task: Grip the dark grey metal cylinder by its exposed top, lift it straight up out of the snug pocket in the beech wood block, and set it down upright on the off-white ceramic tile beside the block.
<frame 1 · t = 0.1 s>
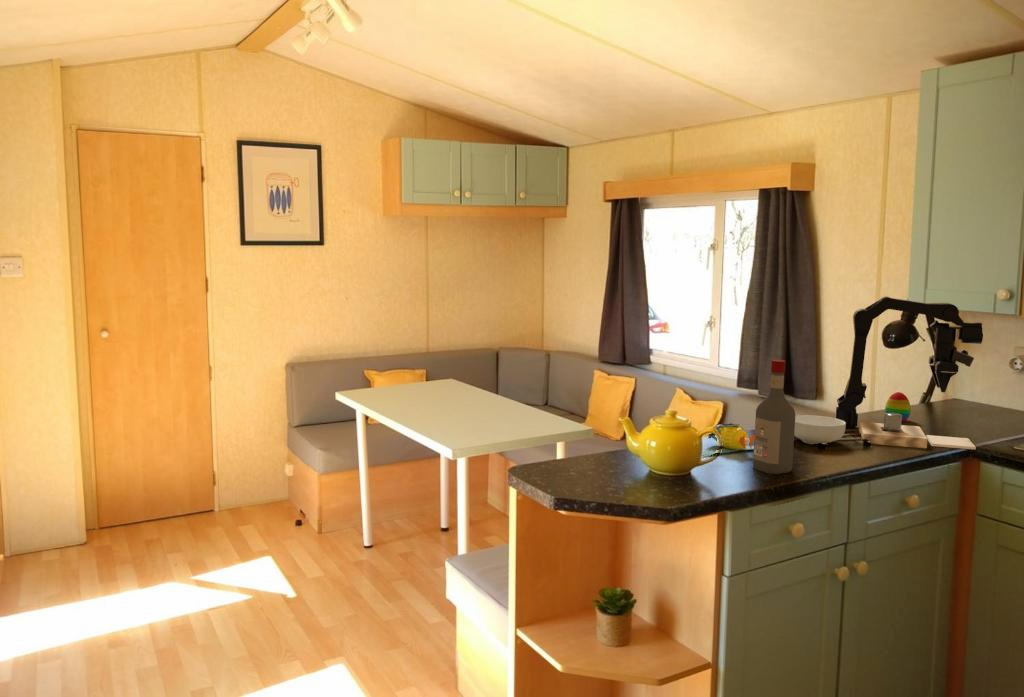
hand: (940, 389, 277), 15 cm above the worktop, fingers open, 9 cm apart
owl figurine: (731, 452, 254), on the worktop
metal part: (892, 426, 270), in the pocket block
cereal bowl: (815, 442, 265), on the worktop
ceramic tile: (950, 443, 266), on the worktop
liquor: (772, 469, 233), on the worktop
decorative egg: (896, 420, 299), on the worktop
pocket block: (891, 439, 270), on the worktop
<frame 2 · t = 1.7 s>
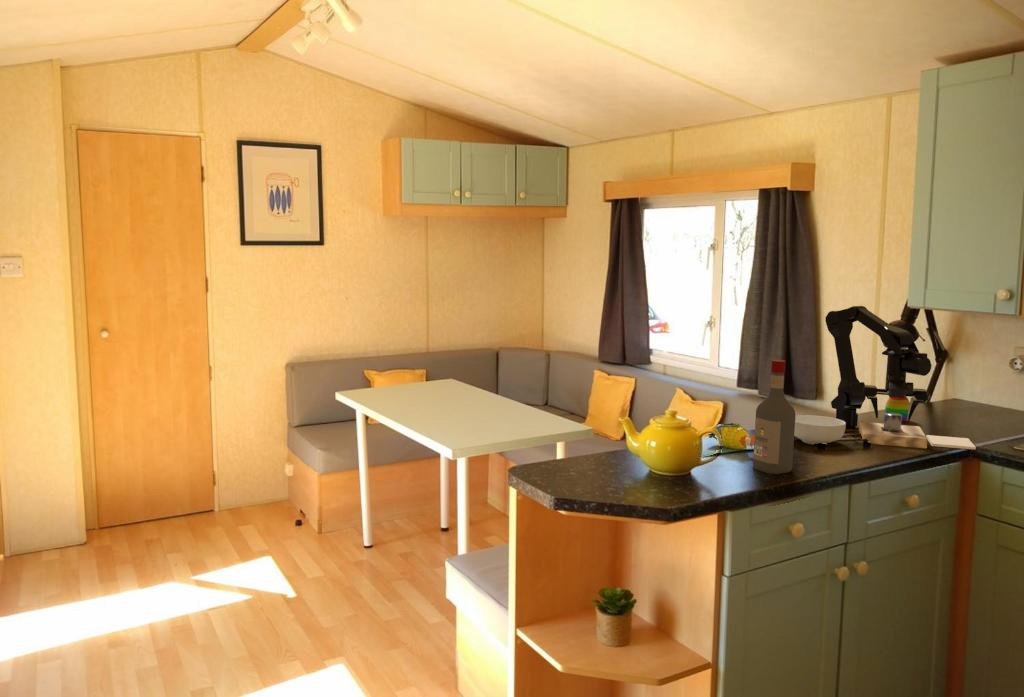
hand: (892, 419, 270), 6 cm above the worktop, fingers open, 9 cm apart
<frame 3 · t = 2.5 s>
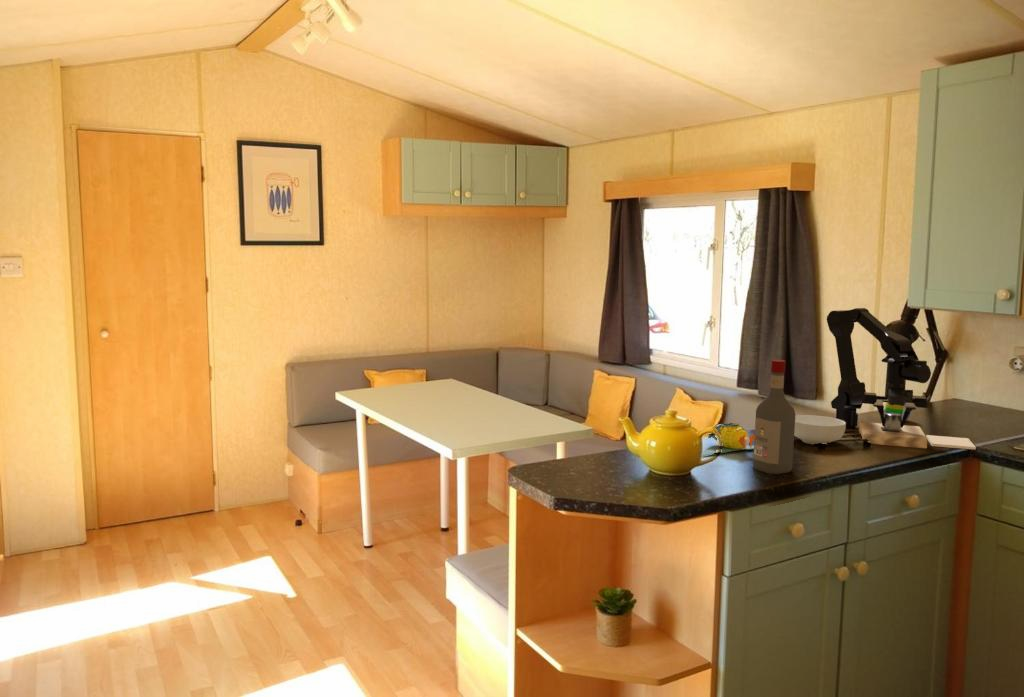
hand: (892, 426, 270), 4 cm above the worktop, fingers closed on metal part, 5 cm apart
metal part: (892, 426, 270), in the pocket block, touching gripper
everything else where it was.
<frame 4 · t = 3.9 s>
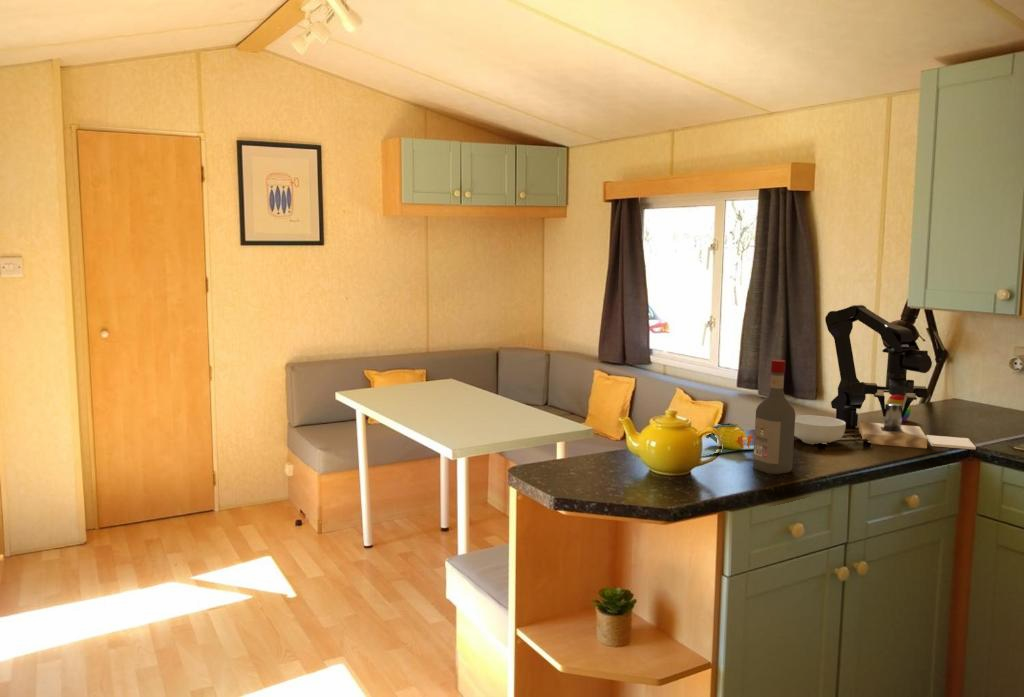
hand: (893, 417, 269), 7 cm above the worktop, fingers closed on metal part, 5 cm apart
metal part: (893, 417, 269), point 7 cm above the worktop, touching gripper
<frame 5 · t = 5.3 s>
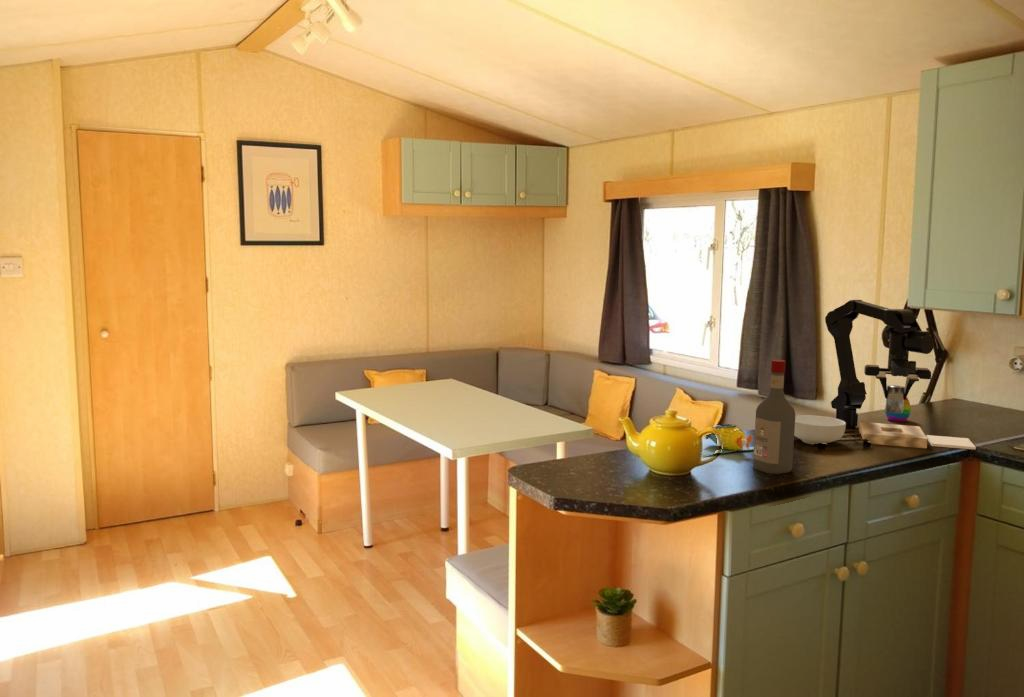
hand: (895, 398, 269), 13 cm above the worktop, fingers closed on metal part, 5 cm apart
metal part: (895, 399, 269), point 13 cm above the worktop, touching gripper
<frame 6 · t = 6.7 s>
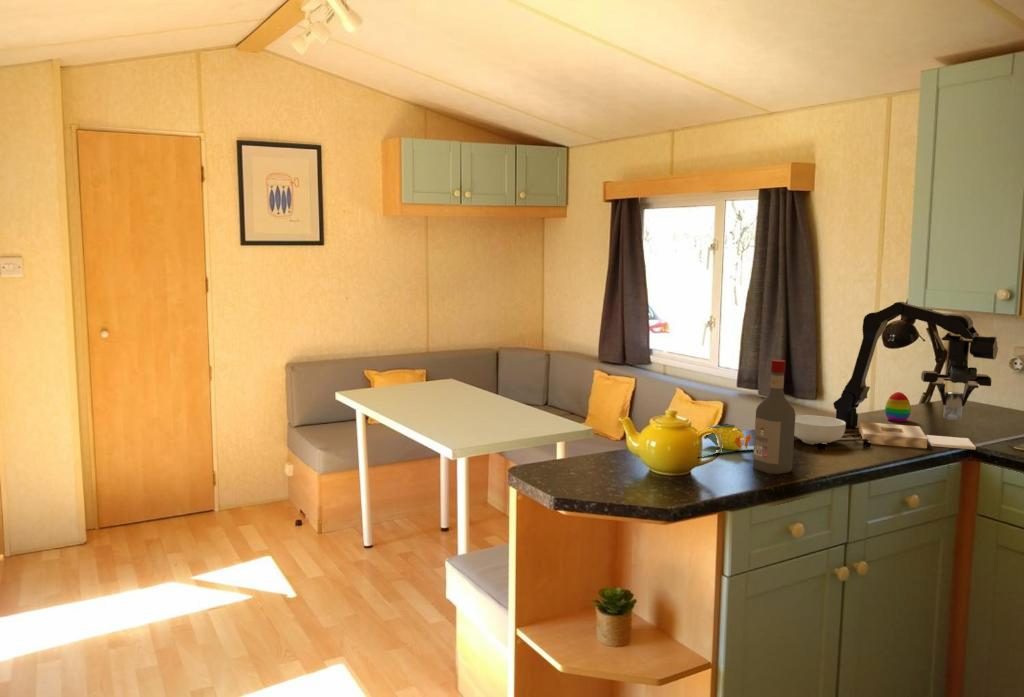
hand: (953, 405, 265), 12 cm above the worktop, fingers closed on metal part, 5 cm apart
metal part: (953, 405, 265), point 12 cm above the worktop, touching gripper
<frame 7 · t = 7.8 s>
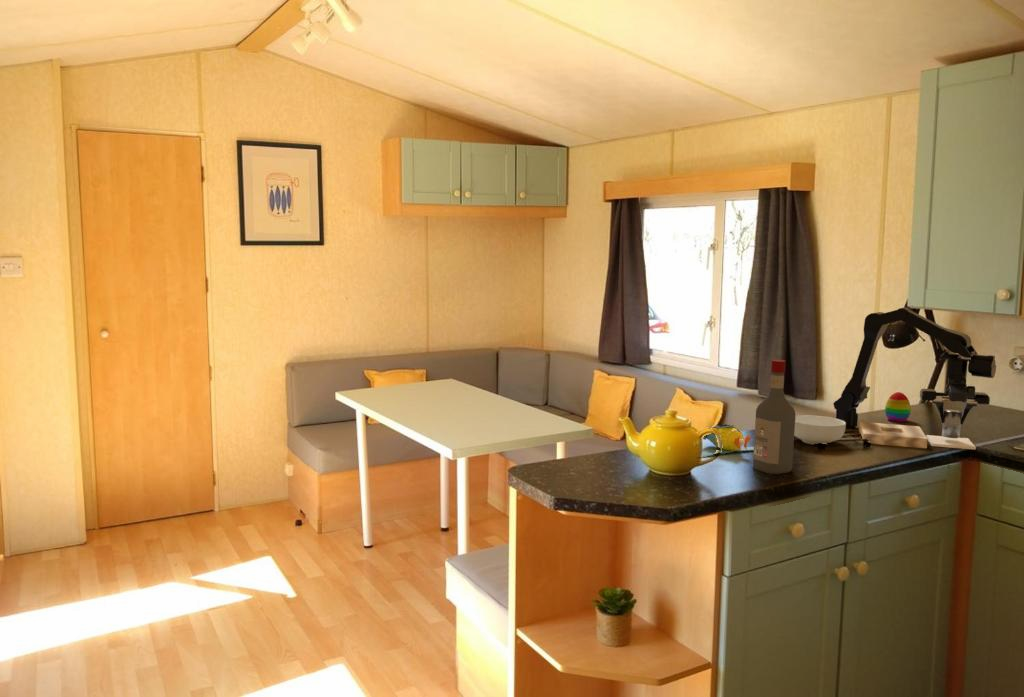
hand: (951, 423, 265), 6 cm above the worktop, fingers closed on metal part, 5 cm apart
metal part: (951, 423, 265), point 6 cm above the worktop, touching gripper
when the fingers open (6 cm above the worktop, at t = 8.4 s): metal part drops 1 cm, resting on ceramic tile.
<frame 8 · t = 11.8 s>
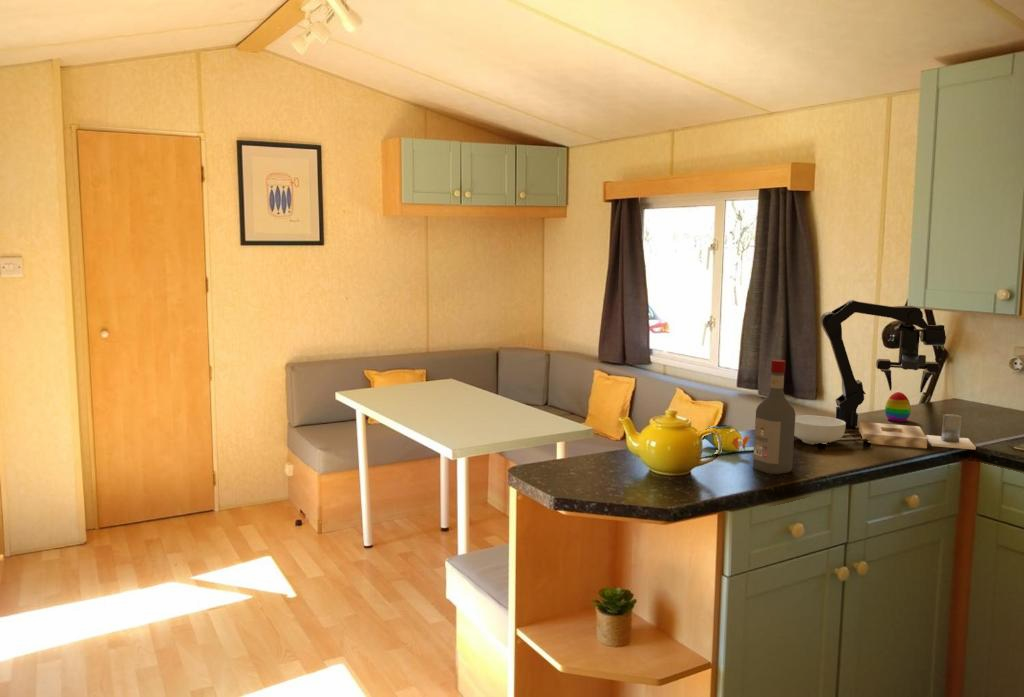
hand: (905, 391, 282), 13 cm above the worktop, fingers open, 9 cm apart
metal part: (951, 428, 266), on the ceramic tile, point 5 cm above the worktop
at the end: metal part inside the target area on the ceramic tile (0.1 cm from its centre), point 4.8 cm above the ceramic tile's base; metal part tilted 0°; the gripper is holding nothing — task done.
